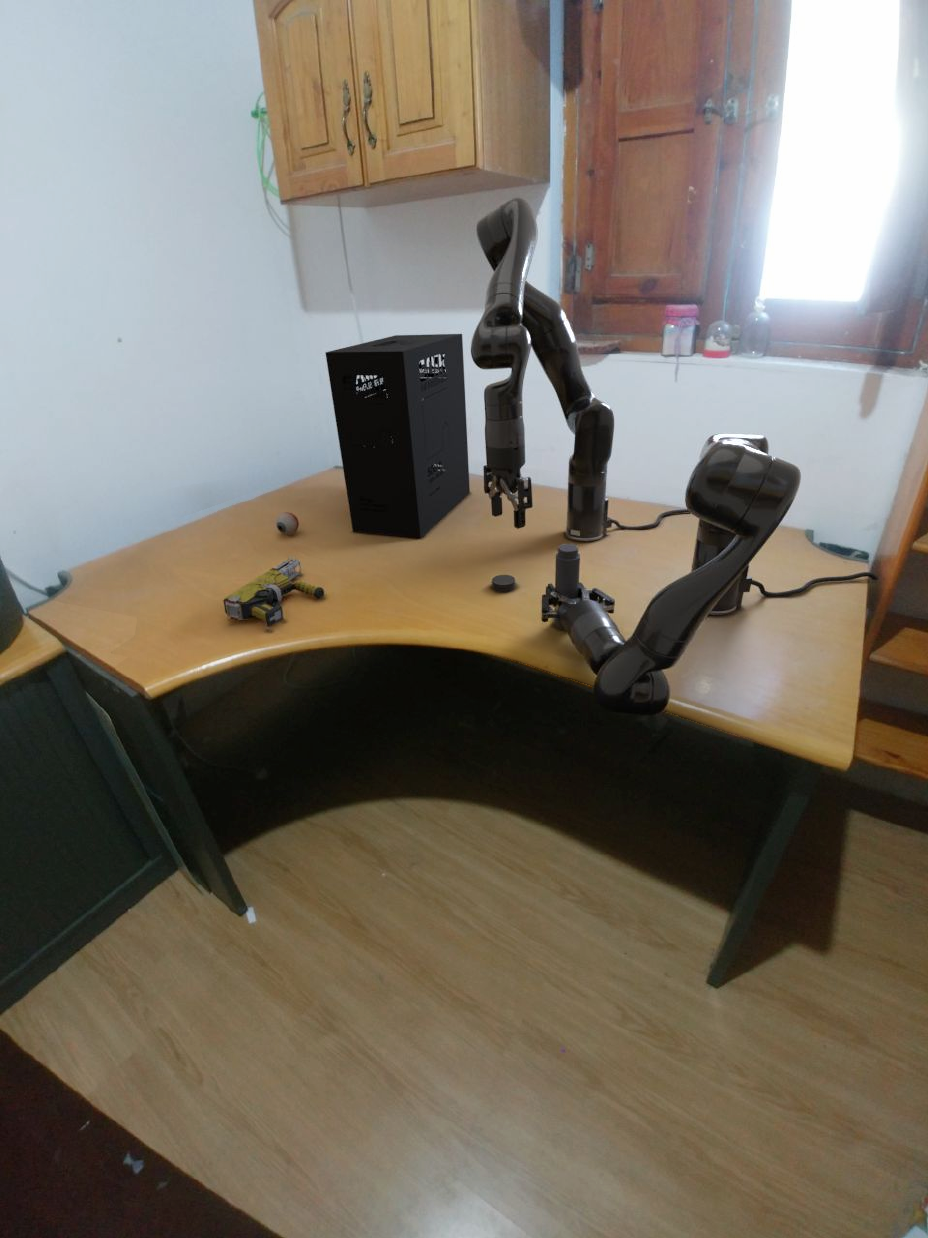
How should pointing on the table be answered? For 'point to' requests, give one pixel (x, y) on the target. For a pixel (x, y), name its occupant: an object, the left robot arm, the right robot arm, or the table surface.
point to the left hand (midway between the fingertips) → (508, 521)
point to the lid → (503, 583)
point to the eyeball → (287, 523)
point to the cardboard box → (401, 431)
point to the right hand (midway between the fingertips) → (562, 586)
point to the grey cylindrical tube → (567, 574)
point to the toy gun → (268, 594)
